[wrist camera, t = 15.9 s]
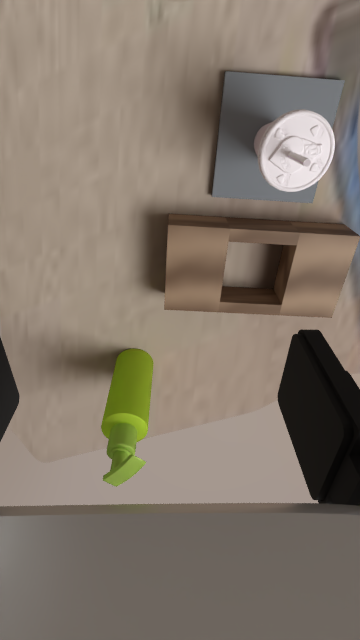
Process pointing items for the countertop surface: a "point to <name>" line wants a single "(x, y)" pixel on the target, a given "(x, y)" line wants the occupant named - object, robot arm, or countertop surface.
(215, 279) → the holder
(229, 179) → the mat
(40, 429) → the countertop surface
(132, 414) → the soap dispenser
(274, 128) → the smoothie
